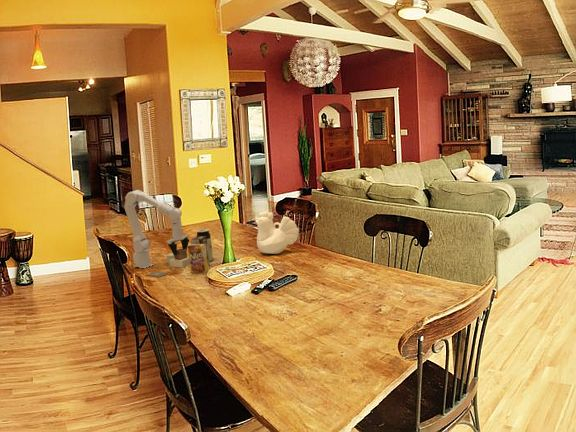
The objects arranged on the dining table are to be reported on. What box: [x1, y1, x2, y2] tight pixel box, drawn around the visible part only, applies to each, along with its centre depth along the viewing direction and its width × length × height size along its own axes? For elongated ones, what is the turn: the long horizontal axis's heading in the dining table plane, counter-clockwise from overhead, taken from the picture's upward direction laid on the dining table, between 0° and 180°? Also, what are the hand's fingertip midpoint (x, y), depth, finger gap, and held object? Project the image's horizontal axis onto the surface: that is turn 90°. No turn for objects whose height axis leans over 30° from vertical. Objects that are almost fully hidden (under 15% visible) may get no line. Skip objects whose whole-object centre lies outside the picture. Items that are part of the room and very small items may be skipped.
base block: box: [169, 256, 190, 268], centre depth 309 cm, size 9×9×4 cm
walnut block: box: [174, 248, 188, 260], centre depth 308 cm, size 5×5×5 cm
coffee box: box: [190, 236, 210, 265], centre depth 301 cm, size 9×6×16 cm
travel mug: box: [195, 228, 214, 262], centre depth 313 cm, size 8×8×18 cm
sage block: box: [165, 252, 175, 265], centre depth 316 cm, size 5×5×5 cm
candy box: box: [187, 243, 209, 274], centre depth 289 cm, size 9×4×15 cm, turn 73°
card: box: [145, 271, 169, 278], centre depth 292 cm, size 10×7×1 cm
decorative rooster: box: [254, 210, 300, 255], centre depth 314 cm, size 25×16×25 cm, turn 67°
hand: (180, 253), depth 308 cm, fingers open, 7 cm apart
